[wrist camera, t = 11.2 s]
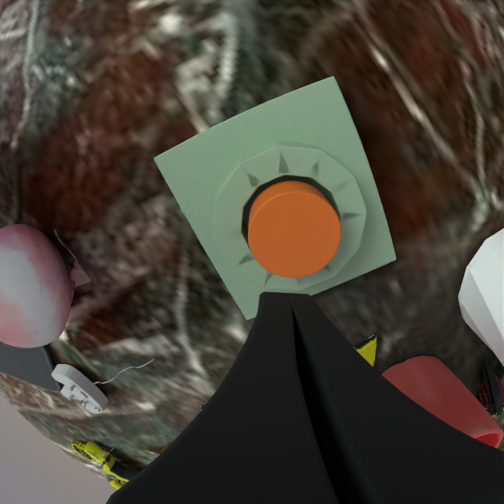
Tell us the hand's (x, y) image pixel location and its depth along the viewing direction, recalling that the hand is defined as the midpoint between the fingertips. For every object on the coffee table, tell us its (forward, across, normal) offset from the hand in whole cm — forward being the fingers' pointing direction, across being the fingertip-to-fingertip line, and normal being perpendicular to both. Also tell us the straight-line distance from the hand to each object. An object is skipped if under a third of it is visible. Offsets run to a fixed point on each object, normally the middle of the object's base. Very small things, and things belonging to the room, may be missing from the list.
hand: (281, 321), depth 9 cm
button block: (+9, -1, -1) cm, 9 cm away
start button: (+6, -1, -1) cm, 6 cm away
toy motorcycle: (+8, +17, +36) cm, 40 cm away
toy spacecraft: (+9, -21, +20) cm, 30 cm away
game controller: (+10, +12, +15) cm, 22 cm away
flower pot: (+9, -14, +14) cm, 22 cm away
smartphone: (+9, +25, +15) cm, 30 cm away
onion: (+10, +15, +4) cm, 18 cm away
